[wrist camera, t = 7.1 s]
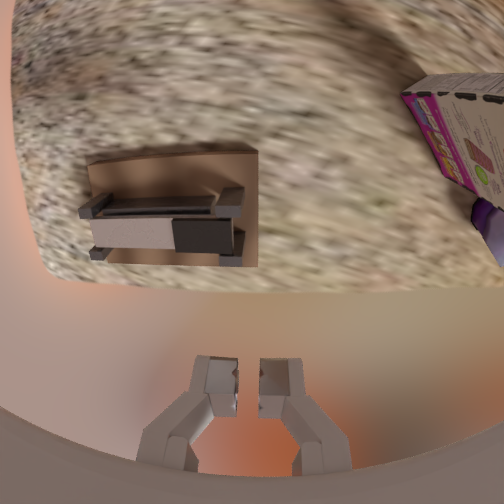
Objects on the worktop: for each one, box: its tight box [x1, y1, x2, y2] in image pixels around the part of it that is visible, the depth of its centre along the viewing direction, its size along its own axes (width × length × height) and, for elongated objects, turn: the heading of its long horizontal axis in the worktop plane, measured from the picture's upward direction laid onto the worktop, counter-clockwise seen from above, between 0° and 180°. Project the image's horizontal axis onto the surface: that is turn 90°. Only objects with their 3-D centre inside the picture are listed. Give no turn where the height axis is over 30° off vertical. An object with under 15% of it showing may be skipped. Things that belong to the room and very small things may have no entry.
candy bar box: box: [400, 73, 504, 212], centre depth 16 cm, size 11×5×16 cm, turn 41°
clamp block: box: [78, 187, 246, 267], centre depth 26 cm, size 16×6×5 cm, turn 90°
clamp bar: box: [89, 215, 234, 254], centre depth 25 cm, size 14×3×1 cm, turn 90°
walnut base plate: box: [87, 151, 258, 267], centre depth 29 cm, size 18×12×2 cm, turn 90°
